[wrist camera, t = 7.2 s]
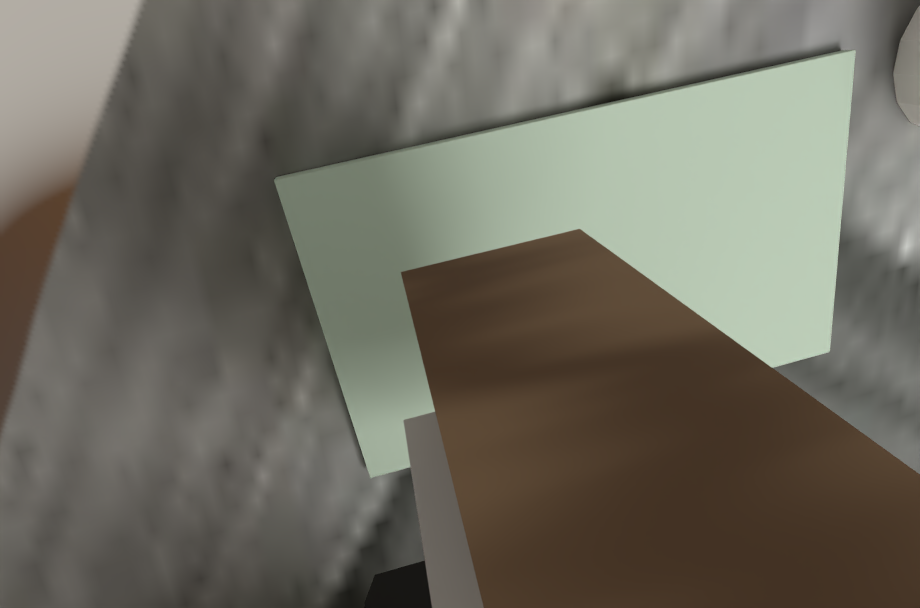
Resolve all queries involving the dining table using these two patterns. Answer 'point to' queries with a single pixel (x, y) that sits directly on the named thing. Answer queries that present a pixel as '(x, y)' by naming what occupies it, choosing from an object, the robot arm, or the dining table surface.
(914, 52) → the white mug
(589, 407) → the walnut slab
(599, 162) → the mat
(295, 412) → the dining table surface
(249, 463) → the dining table surface
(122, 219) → the dining table surface
